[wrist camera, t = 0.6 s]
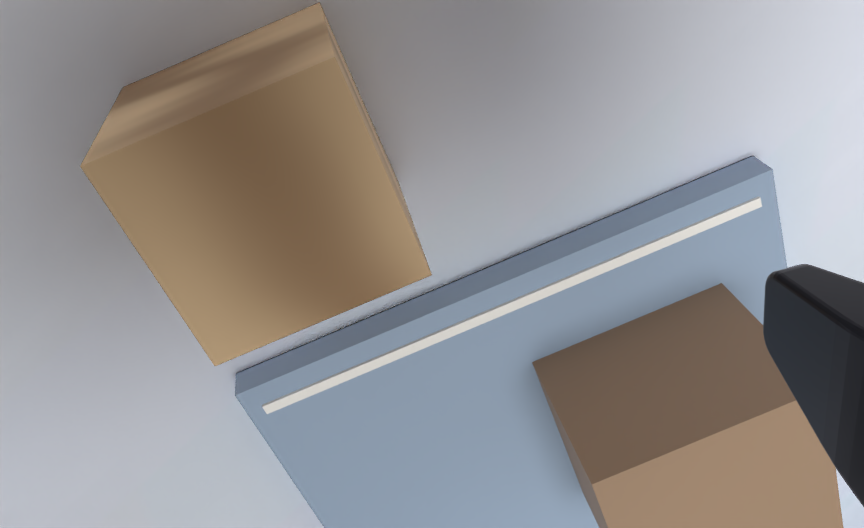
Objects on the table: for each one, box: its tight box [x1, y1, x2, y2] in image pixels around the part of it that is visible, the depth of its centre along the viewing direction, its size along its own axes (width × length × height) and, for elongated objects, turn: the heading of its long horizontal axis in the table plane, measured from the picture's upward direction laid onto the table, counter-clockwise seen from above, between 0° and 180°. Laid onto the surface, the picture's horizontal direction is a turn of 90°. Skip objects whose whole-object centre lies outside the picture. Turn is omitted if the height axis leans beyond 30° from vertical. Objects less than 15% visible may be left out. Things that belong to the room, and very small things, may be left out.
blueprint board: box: [235, 156, 843, 528], centre depth 23 cm, size 16×12×6 cm
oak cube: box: [80, 2, 432, 366], centre depth 18 cm, size 5×5×5 cm
